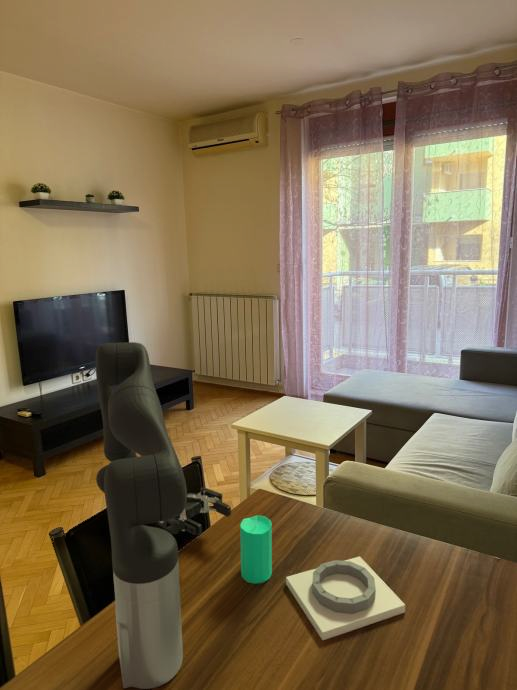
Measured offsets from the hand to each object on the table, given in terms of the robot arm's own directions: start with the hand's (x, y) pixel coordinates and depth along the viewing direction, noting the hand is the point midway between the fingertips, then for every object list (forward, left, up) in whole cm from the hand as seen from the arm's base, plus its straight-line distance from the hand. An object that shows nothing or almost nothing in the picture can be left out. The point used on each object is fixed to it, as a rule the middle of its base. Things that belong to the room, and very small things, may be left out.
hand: (215, 521), depth 97 cm
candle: (+5, -9, -7) cm, 13 cm away
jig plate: (+17, -21, -7) cm, 28 cm away
